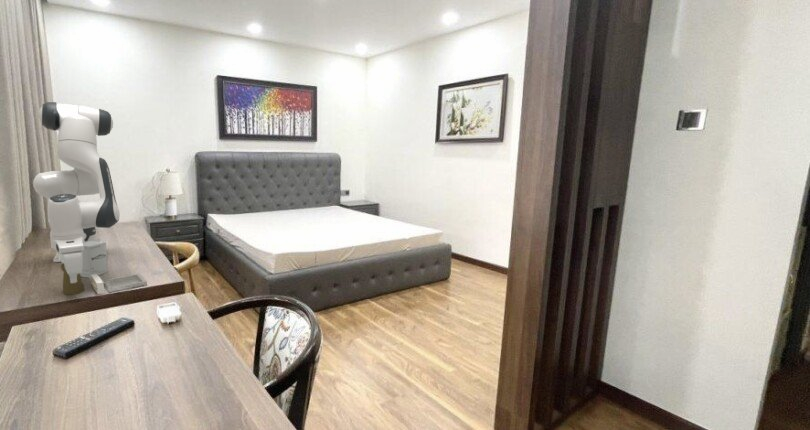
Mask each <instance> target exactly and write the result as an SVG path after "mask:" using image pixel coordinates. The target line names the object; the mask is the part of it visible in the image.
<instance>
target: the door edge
mask: <svg viewBox="0 0 810 430" xmlns="http://www.w3.org/2000/svg"><path fill="white" fill-rule="evenodd" d="M89 282H90V283H91V286H92V287H93V289H94V290H95V292H96V293H97V295H101V294H105V286H104V285H103V279H101V277H100V275H97V274H92V275H91V278H89Z"/></svg>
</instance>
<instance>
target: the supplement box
mask: <svg viewBox="0 0 810 430" xmlns="http://www.w3.org/2000/svg"><path fill="white" fill-rule="evenodd" d="M108 265H109V264H108V252H107V243H106V242H104V241H101V242H96V241H90V242H85V245H84V250H82V272H81V273H80V276H81V278H82V277H84V278H89V279H91V275H92V274H97V275H98V276H101V275H104V274H107V273H109V266H108Z"/></svg>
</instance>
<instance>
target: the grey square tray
mask: <svg viewBox="0 0 810 430" xmlns="http://www.w3.org/2000/svg"><path fill="white" fill-rule="evenodd" d="M102 281H103V285H104V288H105V289H106V291H108V293H115V292H120V291H125V289H127V290H130V289H129V288H132V289H134V288H133V287H137V288H139V287H138V286H142V287H145V286H144V285H147V286H148V281H147V280H146V279H145V278H144V277H143V276H142V275H141V274H140V273H135V274H129V275H123V276H118V277H112V278H106V279H102Z"/></svg>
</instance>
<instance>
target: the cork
mask: <svg viewBox="0 0 810 430" xmlns="http://www.w3.org/2000/svg"><path fill="white" fill-rule="evenodd" d="M60 270H61V271H62V272H63V277H62V294H63V295H65V296H69V295H70V296H71V295H76V294H80V293H83V292H84V291H85V287H84V283H83V280H82V276H80V273H79V274H77V282H76V283H70V277H69V275H68V273H67V272H66V270H65V267H64V263H62V262H61V264H60Z"/></svg>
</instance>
